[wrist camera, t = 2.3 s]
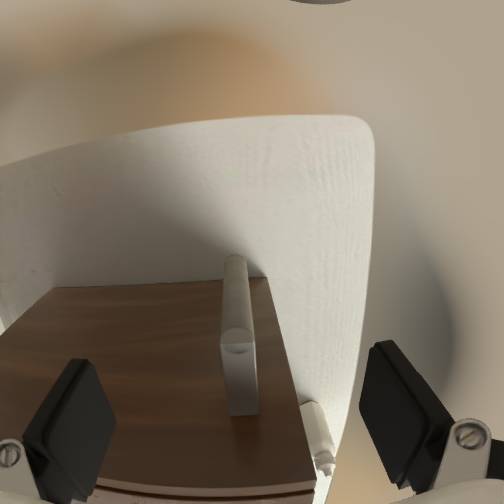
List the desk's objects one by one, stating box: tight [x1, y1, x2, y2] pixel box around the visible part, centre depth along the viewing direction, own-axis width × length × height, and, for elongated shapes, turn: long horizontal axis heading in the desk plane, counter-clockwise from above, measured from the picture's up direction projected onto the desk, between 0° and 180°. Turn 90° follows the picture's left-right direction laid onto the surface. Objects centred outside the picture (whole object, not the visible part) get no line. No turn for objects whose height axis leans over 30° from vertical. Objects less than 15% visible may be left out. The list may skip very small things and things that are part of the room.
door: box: [0, 255, 317, 497], centre depth 21 cm, size 7×26×24 cm, turn 93°
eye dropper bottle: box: [299, 401, 336, 478], centre depth 35 cm, size 4×6×12 cm
